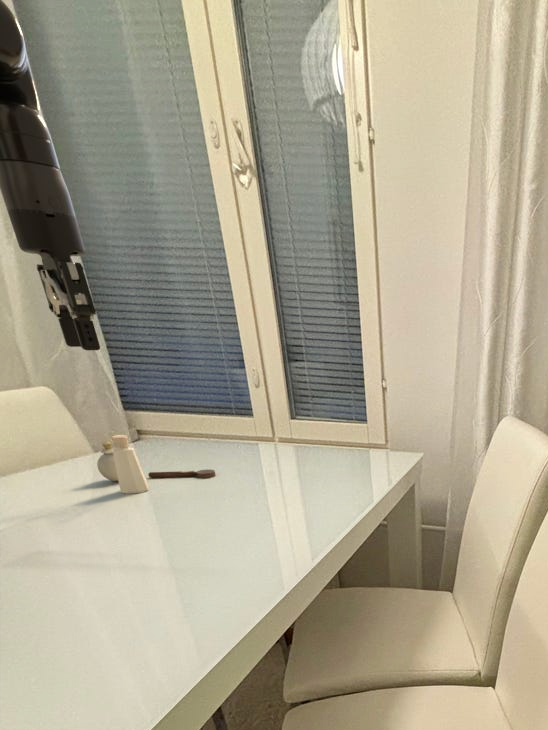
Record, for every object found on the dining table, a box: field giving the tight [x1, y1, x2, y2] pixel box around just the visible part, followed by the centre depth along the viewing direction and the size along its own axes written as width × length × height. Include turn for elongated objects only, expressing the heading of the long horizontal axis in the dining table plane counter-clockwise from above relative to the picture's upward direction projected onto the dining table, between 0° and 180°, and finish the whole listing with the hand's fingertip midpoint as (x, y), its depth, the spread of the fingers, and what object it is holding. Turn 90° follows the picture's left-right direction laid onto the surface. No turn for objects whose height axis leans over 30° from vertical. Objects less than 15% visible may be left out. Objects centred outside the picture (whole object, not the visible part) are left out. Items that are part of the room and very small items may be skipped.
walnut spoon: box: [147, 469, 217, 479], centre depth 126 cm, size 14×4×1 cm, turn 104°
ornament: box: [96, 432, 119, 482], centre depth 120 cm, size 6×7×10 cm
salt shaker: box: [110, 434, 150, 495], centre depth 113 cm, size 5×5×11 cm
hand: (83, 348), depth 81 cm, fingers open, 8 cm apart
